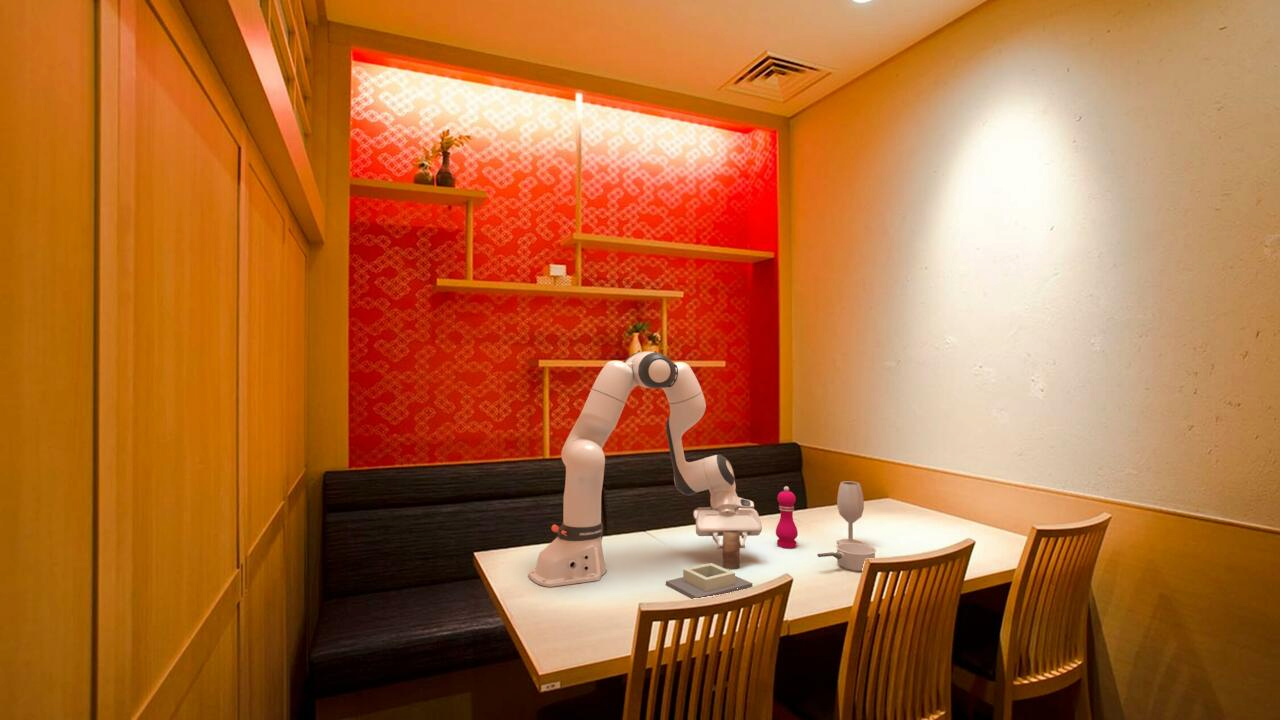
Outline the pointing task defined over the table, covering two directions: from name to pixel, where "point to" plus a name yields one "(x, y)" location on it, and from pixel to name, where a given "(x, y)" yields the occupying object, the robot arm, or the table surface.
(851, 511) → the wineglass
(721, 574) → the socket block
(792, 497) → the pepper mill
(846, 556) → the saucepan
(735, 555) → the walnut peg
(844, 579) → the table surface
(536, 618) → the table surface
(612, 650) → the table surface
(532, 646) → the table surface
